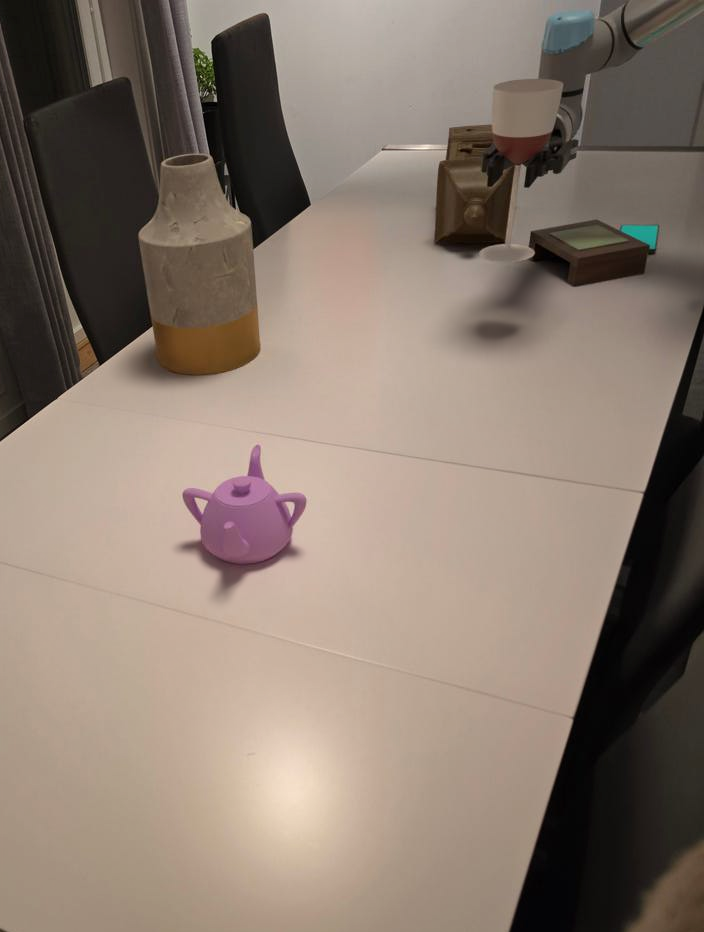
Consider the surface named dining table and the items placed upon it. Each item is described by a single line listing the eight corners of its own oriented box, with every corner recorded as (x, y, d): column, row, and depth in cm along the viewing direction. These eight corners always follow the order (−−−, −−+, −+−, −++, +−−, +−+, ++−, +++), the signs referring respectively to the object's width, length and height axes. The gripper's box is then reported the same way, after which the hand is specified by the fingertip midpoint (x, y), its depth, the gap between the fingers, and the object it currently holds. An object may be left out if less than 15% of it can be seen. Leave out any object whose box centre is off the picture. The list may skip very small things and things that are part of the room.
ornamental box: (504, 272, 169) (530, 172, 156) (417, 260, 173) (435, 162, 160) (511, 214, 193) (534, 124, 180) (434, 206, 196) (451, 116, 183)
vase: (163, 382, 141) (132, 183, 121) (153, 340, 155) (123, 156, 134) (269, 364, 142) (256, 164, 122) (250, 325, 156) (235, 139, 135)
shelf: (643, 273, 155) (650, 243, 152) (573, 286, 154) (578, 257, 150) (591, 245, 168) (597, 218, 165) (526, 257, 167) (530, 229, 164)
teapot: (262, 502, 110) (258, 442, 104) (319, 553, 101) (317, 490, 95) (182, 532, 107) (172, 472, 101) (232, 588, 97) (225, 525, 91)
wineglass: (503, 267, 131) (525, 95, 115) (464, 251, 138) (479, 87, 122) (550, 254, 133) (578, 83, 118) (509, 239, 140) (530, 76, 125)
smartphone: (659, 224, 171) (656, 249, 161) (658, 229, 171) (655, 253, 161) (620, 224, 173) (615, 248, 163) (619, 228, 174) (614, 252, 164)
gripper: (595, 164, 137) (567, 206, 122) (486, 163, 144) (447, 203, 130) (604, 111, 132) (576, 148, 117) (491, 112, 139) (451, 148, 125)
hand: (509, 177), depth 123 cm, fingers closed on wineglass, 5 cm apart
